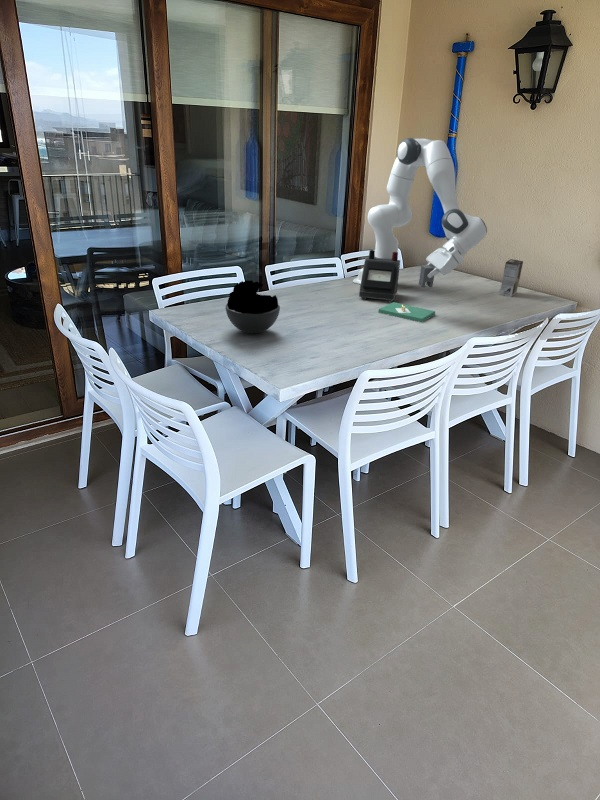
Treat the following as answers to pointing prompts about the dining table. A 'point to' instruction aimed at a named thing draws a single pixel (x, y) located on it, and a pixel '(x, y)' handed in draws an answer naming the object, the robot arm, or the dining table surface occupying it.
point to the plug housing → (424, 278)
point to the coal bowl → (251, 308)
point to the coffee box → (511, 277)
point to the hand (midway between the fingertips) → (425, 274)
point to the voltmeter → (380, 277)
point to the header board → (407, 312)
